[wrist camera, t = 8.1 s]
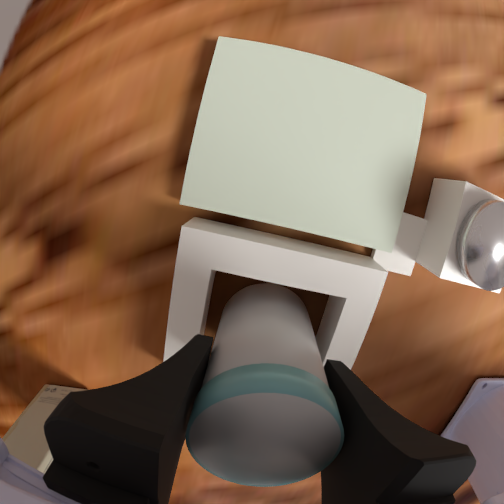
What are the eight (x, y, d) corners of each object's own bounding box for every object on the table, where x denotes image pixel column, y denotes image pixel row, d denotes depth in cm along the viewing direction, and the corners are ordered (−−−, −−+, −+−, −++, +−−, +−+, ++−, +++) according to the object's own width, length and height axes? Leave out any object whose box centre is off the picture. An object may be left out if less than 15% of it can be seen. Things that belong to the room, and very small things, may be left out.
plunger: (492, 205, 14) (534, 216, 10) (473, 273, 15) (510, 296, 11) (440, 183, 14) (482, 189, 10) (420, 258, 15) (456, 282, 11)
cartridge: (322, 292, 15) (369, 400, 7) (296, 369, 16) (313, 491, 9) (228, 271, 15) (194, 373, 7) (212, 352, 16) (180, 472, 8)
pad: (417, 97, 13) (426, 94, 12) (384, 248, 15) (391, 253, 14) (221, 43, 13) (218, 36, 12) (184, 201, 15) (179, 204, 14)
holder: (490, 202, 14) (523, 210, 11) (411, 402, 18) (427, 431, 15) (215, 117, 14) (204, 104, 11) (171, 367, 17) (158, 399, 14)
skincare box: (45, 381, 18) (-43, 489, 7) (91, 387, 18) (4, 521, 6) (76, 440, 20) (16, 545, 8) (120, 448, 20) (67, 570, 8)
